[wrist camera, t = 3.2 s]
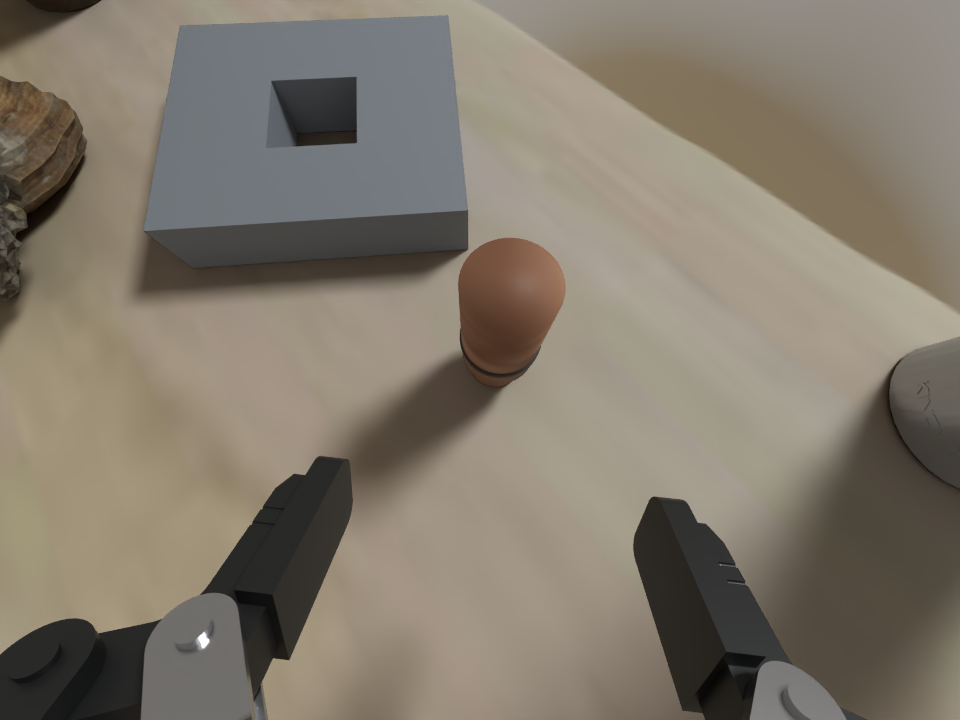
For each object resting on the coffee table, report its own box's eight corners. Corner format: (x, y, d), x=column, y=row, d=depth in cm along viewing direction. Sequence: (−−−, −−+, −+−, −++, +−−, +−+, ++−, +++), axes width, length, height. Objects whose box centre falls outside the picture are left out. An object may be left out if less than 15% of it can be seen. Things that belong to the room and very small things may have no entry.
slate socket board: (451, 72, 31) (448, 15, 27) (468, 249, 26) (467, 210, 23) (216, 83, 30) (179, 25, 26) (192, 268, 26) (143, 231, 22)
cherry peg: (524, 327, 25) (558, 232, 15) (533, 391, 24) (576, 331, 14) (459, 332, 25) (452, 240, 15) (464, 397, 23) (460, 341, 14)
